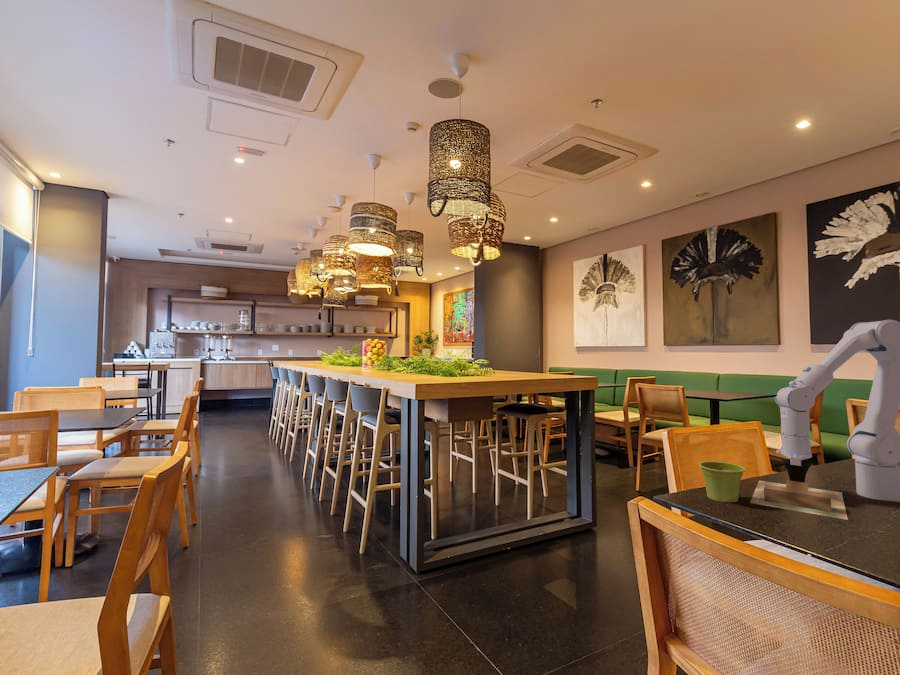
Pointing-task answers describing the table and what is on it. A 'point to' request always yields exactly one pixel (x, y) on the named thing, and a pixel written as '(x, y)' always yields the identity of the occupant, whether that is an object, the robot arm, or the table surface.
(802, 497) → the t block
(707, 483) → the plant pot
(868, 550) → the table surface
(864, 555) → the table surface
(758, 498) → the t board
